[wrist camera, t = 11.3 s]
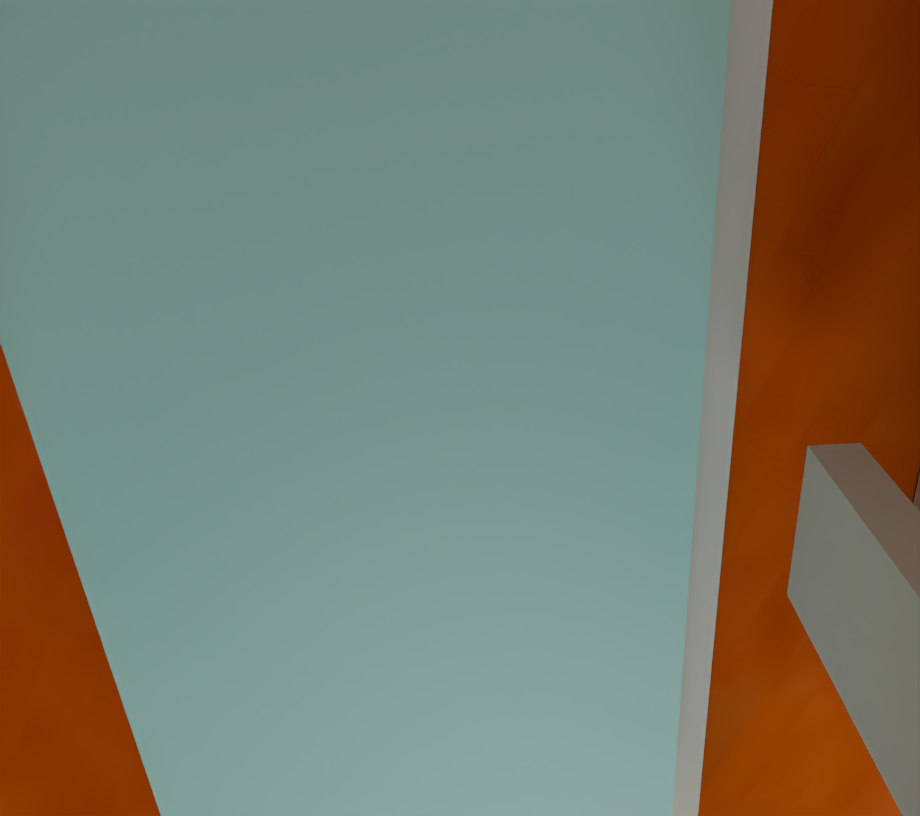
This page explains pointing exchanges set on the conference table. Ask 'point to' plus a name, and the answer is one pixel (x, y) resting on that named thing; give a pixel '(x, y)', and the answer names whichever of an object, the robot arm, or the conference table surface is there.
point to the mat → (721, 374)
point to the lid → (372, 384)
